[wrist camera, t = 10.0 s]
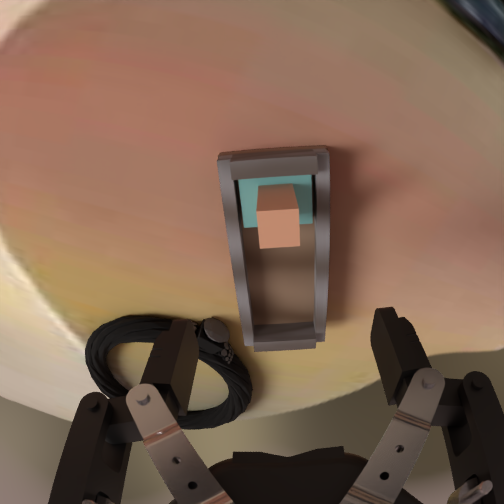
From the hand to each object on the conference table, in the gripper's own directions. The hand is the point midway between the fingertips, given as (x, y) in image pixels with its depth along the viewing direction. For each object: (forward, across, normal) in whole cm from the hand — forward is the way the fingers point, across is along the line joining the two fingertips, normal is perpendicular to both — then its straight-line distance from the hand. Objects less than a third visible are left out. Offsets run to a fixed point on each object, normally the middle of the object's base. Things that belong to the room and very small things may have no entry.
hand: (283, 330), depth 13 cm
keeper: (+18, 0, 0) cm, 18 cm away
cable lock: (+21, +18, +28) cm, 39 cm away
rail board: (+20, 0, +7) cm, 21 cm away
